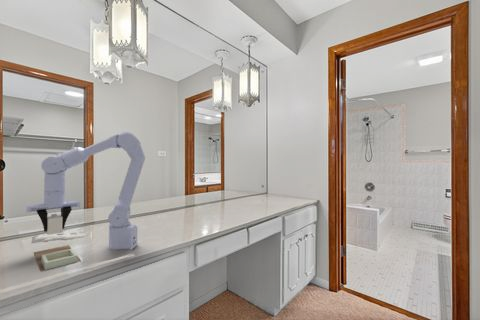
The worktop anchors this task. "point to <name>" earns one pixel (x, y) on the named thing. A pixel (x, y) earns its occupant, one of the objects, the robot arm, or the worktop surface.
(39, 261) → the board
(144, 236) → the worktop surface
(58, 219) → the plug
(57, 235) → the gun
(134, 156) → the robot arm
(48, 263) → the holder
